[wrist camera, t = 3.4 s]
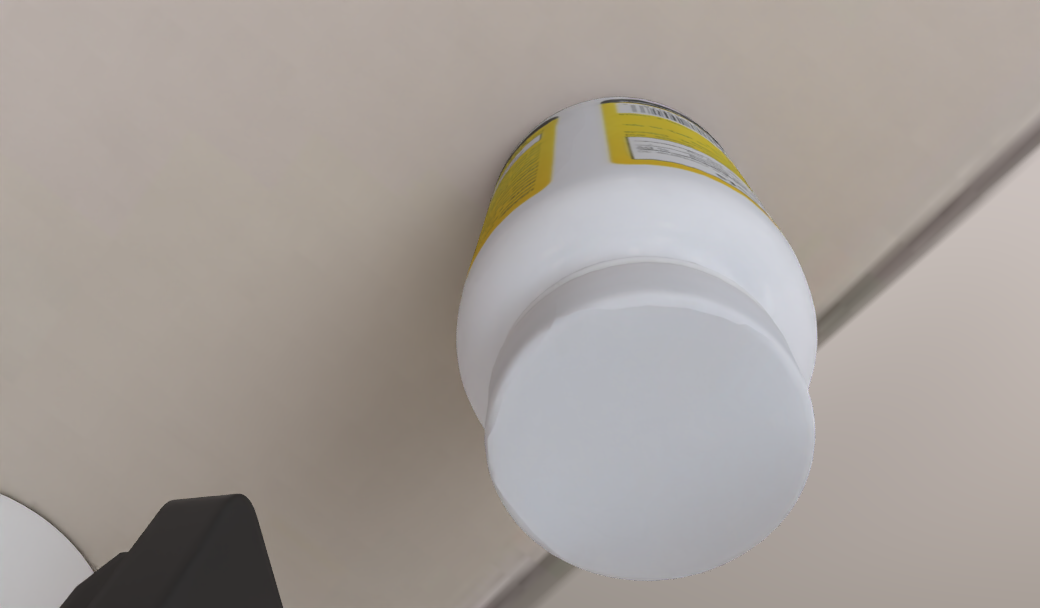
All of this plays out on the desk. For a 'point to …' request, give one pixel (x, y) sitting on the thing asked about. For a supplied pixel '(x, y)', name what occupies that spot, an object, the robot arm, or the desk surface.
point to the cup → (35, 560)
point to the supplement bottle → (637, 346)
